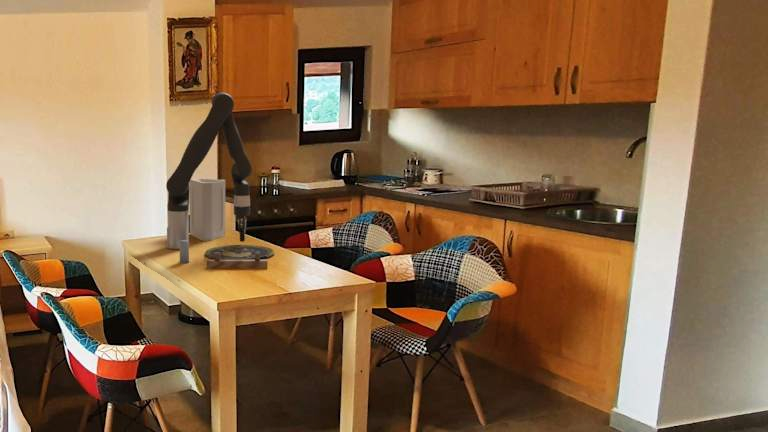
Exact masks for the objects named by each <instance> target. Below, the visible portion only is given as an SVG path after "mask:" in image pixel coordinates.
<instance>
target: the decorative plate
mask: <svg viewBox="0 0 768 432" xmlns="http://www.w3.org/2000/svg"><path fill="white" fill-rule="evenodd" d="M215 253H220V260H239V259H255V253H260V259H267V260H268V259H271V258H273V257H274V255H275V252H274V250H273V249H272V248H270V247H267V246H263V245H262V246H261V245H255V244H253V245H252V244H229V245H221V246H215V247H212V248H209V249H207V250H206V251H204V256H205V258H207V259H208V260H215Z"/></svg>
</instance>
